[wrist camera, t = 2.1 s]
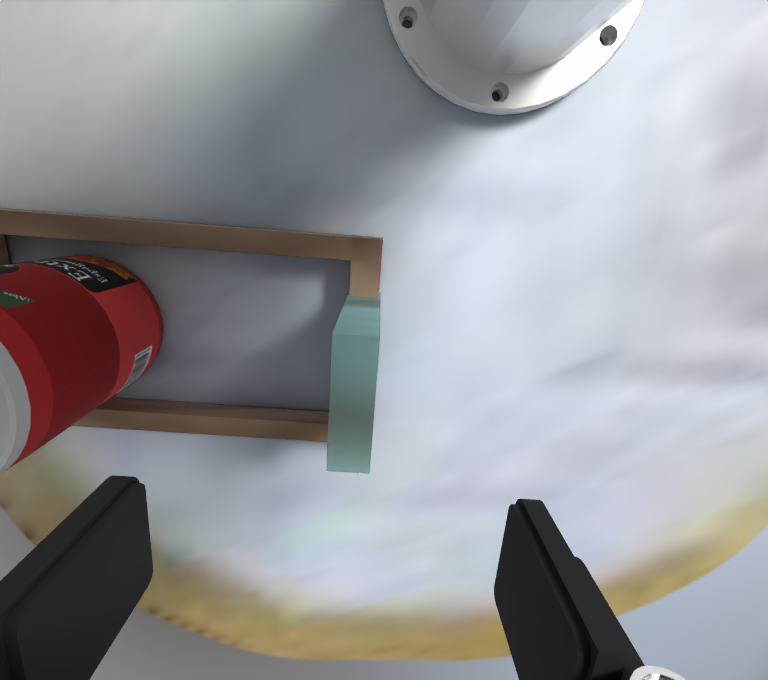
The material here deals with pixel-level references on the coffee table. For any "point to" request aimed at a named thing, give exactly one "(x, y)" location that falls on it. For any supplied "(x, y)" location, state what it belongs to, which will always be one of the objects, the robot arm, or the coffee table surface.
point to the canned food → (68, 345)
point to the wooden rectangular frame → (337, 427)
